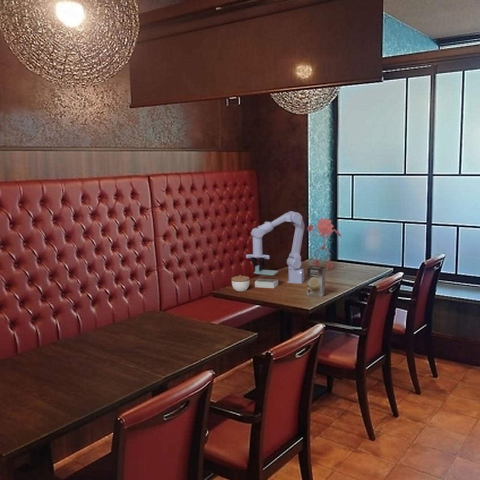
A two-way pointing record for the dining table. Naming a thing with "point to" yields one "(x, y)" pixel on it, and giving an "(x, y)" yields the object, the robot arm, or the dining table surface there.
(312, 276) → the coffee box
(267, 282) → the tub
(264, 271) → the lid
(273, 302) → the dining table surface
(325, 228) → the red flower sprig
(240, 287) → the lidded jar
